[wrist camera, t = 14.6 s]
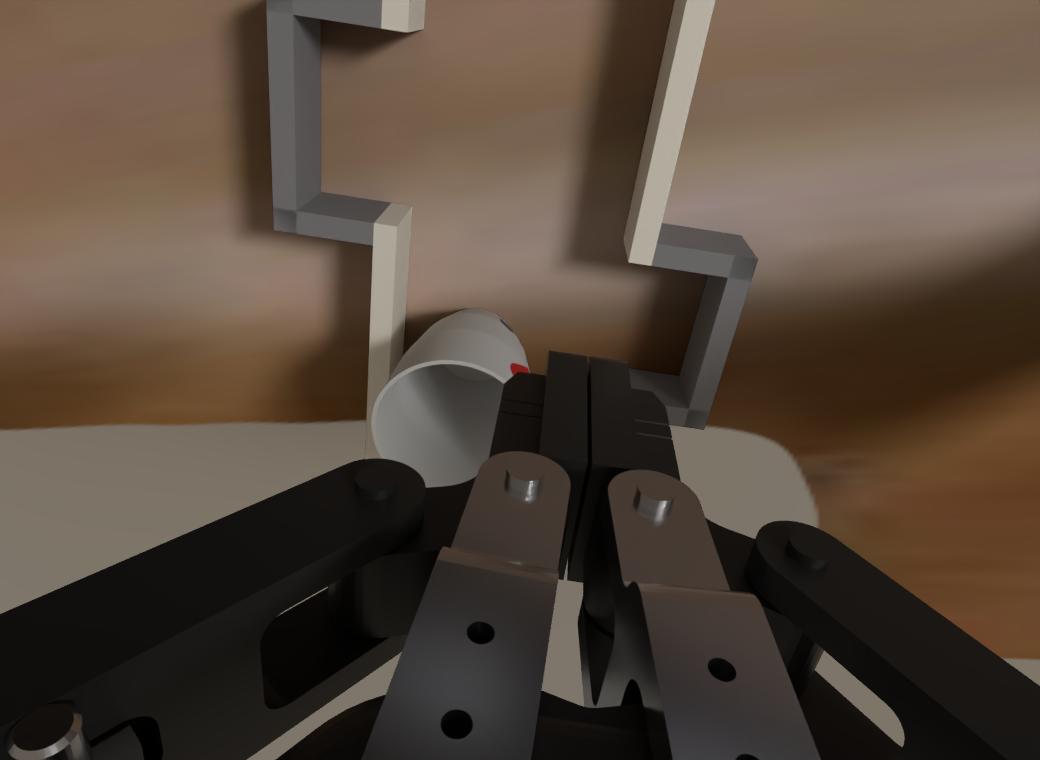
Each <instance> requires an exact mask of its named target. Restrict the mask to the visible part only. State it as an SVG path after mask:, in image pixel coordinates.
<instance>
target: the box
mask: <svg viewBox="0 0 1040 760" xmlns="http://www.w3.org/2000/svg"><path fill="white" fill-rule="evenodd" d="M425 4H426V0H266V10H267V40H268V70H269V100H270V130H271V160H272V190H273V220H274V230H275V231H282V232H288V233H295V234H301V235H308V236H314V237H321V238H327V239H334V240H340V241H347V242H353V243H360V244H366V245H373V260H372V286H371V313H370V340H369V366H368V393H367V420H366V448H365V450H366V451H365V459H371V458H381V456H380V455H379V453H378V451H377V448H376V446H375V443H374V440H373V436H372V428H371V419H372V412H373V408H374V405H375V402H376V400H377V398H378V396H379V394H380V393H381V391H382V389H383V388H384V386H385V384H386V383H387V381H388V380H389V378H390V376H391V375H392V373H393V372H394V370H395V368H396V367H397V365H398V364H399V362H400V360H401V359H402V357H403V348H404V332H405V316H406V301H407V285H408V270H409V254H410V238H411V223H412V207H413V206H408V205H401V204H395V203H388V202H382V201H375V200H369V199H362V198H356V197H349V196H343V195H336V194H330V193H323V192H321V19H324V20H330V21H337V22H343V23H349V24H356V25H362V26H368V27H375V28H381V29H387V30H394V31H400V32H407V33H408V32H413V31H417V30H422V29H424V19H425ZM714 4H715V0H675V2H674V6H673V11H672V15H671V20H670V25H669V29H668V34H667V39H666V43H665V48H664V53H663V57H662V62H661V66H660V71H659V76H658V80H657V85H656V90H655V94H654V99H653V104H652V108H651V113H650V117H649V122H648V127H647V131H646V136H645V141H644V145H643V150H642V154H641V159H640V164H639V168H638V173H637V178H636V182H635V187H634V192H633V196H632V201H631V205H630V210H629V215H628V219H627V224H626V229H625V233H624V238H623V240H624V245H625V249H626V254H627V258H628V262H629V263H636V264H642V265H649V266H655V267H662V268H668V269H675V270H681V271H688V272H694V273H701V274H707V275H708V277H707V280H706V284H705V287H704V291H703V294H702V298H701V301H700V305H699V308H698V312H697V315H696V319H695V322H694V326H693V329H692V333H691V336H690V340H689V344H688V347H687V351H686V354H685V358H684V361H683V365H682V368H681V372H680V375H679V376H676V375H670V374H663V373H657V372H650V371H644V370H637V369H630V368H629V374H630V382H631V388H633V389H640V390H646V391H652V392H653V393H654V394H655V395H656V396H657V398H658V399H659V400H660V401H661V402H662V403H663V404H664V406H665V407H666V410H667V415H668V420H669V425H675V426H682V427H689V428H695V429H702V430H704V428H705V425H706V422H707V419H708V416H709V412H710V409H711V406H712V403H713V400H714V397H715V394H716V390H717V387H718V384H719V381H720V378H721V375H722V371H723V368H724V365H725V362H726V359H727V356H728V352H729V349H730V346H731V343H732V340H733V337H734V334H735V330H736V327H737V324H738V321H739V318H740V315H741V311H742V308H743V305H744V302H745V299H746V296H747V292H748V289H749V286H750V283H751V280H752V277H753V274H754V270H755V267H756V264H757V261H758V258H757V257H756V256H755V254H754V253H753V251H752V250H751V249H750V247H749V246H748V244H747V243H746V242H745V240H744V239H743V237H742V236H740V235H734V234H727V233H721V232H714V231H708V230H701V229H695V228H689V227H682V226H676V225H669V224H663V223H662V220H663V216H664V211H665V207H666V203H667V199H668V195H669V191H670V186H671V182H672V178H673V174H674V170H675V166H676V162H677V157H678V153H679V149H680V145H681V141H682V137H683V132H684V128H685V124H686V120H687V116H688V112H689V107H690V103H691V99H692V95H693V91H694V87H695V83H696V78H697V74H698V70H699V66H700V62H701V58H702V53H703V49H704V45H705V41H706V37H707V33H708V29H709V24H710V20H711V16H712V12H713V8H714ZM381 459H382V458H381Z"/></svg>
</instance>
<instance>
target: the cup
mask: <svg viewBox="0 0 1040 760" xmlns="http://www.w3.org/2000/svg"><path fill="white" fill-rule="evenodd" d="M517 372H524V373H530V371H529V367H528V363H527V359H526V355H525V352H524V349H523V347H522V345H521V343H520V341H519V339H518V338H517V337H516V335H515V334H514V332H513V331H512V329H511V328H510V326H509V325H508V324H507V323H506V322H505V321H504V320H503V319H502V318H501V317H499V316H498V315H496V314H494V313H492V312H490V311H487V310H483V309H464V310H461V311H458V312H456V313H454V314H451V315H449V316H447V317H445V318H443V319H441V320H439V321H438V322H436V323H435V324H433V325H432V326H431V327H430V328H429V329H428V330H427V331H426V332H425V333H424V334H423V335H422V336H421V337H420V338H419V339H418V340H417V341H416V342H415V343H414V344H413V345H412V346H411V347H410V348H409V349H408V350H407V352H406V353H405V354H404V356H403V357H402V359H401V360H400V362H399V364H398V365H397V367H396V368H395V370H394V372H393V373H392V375H391V376H390V378H389V380H388V381H387V383H386V384H385V386H384V388H383V389H382V391H381V393H380V394H379V396H378V398H377V400H376V402H375V405H374V408H373V412H372V419H371V428H372V436H373V440H374V443H375V446H376V448H377V451H378V453H379V455H380V456H381V458H382V459H390V460H395V461H398V462H401V463H404V464H406V465H408V466H410V467H412V468H413V469H415V470H416V471H417V472H418V473H419V474H420V475H421V476H422V478H423V480H424V482H425V486H426V488H428V487H442V486H451V485H456V484H460V483H463V482H466V481H468V480H470V479H472V478H474V477H476V476H477V473H478V471H479V468H480V467H481V465H482V464H483V463H484V461H486V460H487V459H488V458H489V454H490V449H491V444H492V439H493V435H494V430H495V425H496V420H497V416H498V411H499V406H500V402H501V397H502V392H503V387H504V383H505V382H506V381H508V380H509V379H510V378H511V377H512V376H513V375H515V374H516V373H517Z"/></svg>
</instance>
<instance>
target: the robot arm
mask: <svg viewBox="0 0 1040 760" xmlns="http://www.w3.org/2000/svg"><path fill="white" fill-rule="evenodd" d="M671 438H672V435H671V430H670V427H669V420H668V415H667V410H666V407H665V406H664V404H663V403H662V402H661V401H660V400H659V399H658V398H657V396H656V395H655V394H654V393H653V392H652V391H646V390H640V389H633V388H631V382H630V374H629V366H628V362H623V361H617V360H610V359H603V358H596V357H589V359H588V363H587V356H582V355H575V354H569V353H562V352H555V351H549V354H548V359H547V365H546V372H545V375H538V374H531V373H524V372H517V373H516V374H515V375H513V376H512V377H511V378H510V379H509V380H508V381H506V382H505V383H504V387H503V392H502V397H501V402H500V406H499V411H498V416H497V420H496V425H495V430H494V435H493V439H492V444H491V449H490V454H489V458H488V459H487V460H486V461H484V463H483V464H482V465H481V467H480V468H479V471H478V473H477V476H476V477H474V478H472V479H470V480H468V481H466V482H463V483H460V484H456V485H451V486H442V487H428V488H426V486H425V482H424V480H423V478H422V476H421V475H420V474H419V473H418V472H417V471H416V470H415V469H413V468H412V467H410V466H408V465H406V464H404V463H401V462H398V461H395V460H390V459H381V458H371V459H363V460H358V461H354V462H351V463H348V464H346V465H343V466H341V467H339V468H336V469H334V470H332V471H329V472H327V473H325V474H323V475H320V476H318V477H316V478H313V479H311V480H309V481H307V482H304V483H302V484H300V485H297V486H295V487H293V488H290V489H288V490H286V491H284V492H281V493H279V494H276V495H274V496H272V497H269V498H267V499H265V500H263V501H260V502H258V503H256V504H253V505H251V506H249V507H246V508H244V509H242V510H240V511H237V512H235V513H233V514H230V515H228V516H226V517H224V518H221V519H219V520H217V521H214V522H212V523H209V524H207V525H205V526H203V527H200V528H198V529H196V530H193V531H191V532H189V533H187V534H184V535H182V536H180V537H177V538H175V539H173V540H170V541H168V542H166V543H163V544H161V545H159V546H157V547H154V548H152V549H150V550H147V551H145V552H143V553H140V554H138V555H136V556H133V557H131V558H129V559H126V560H124V561H122V562H119V563H117V564H115V565H113V566H110V567H108V568H106V569H103V570H101V571H99V572H96V573H94V574H92V575H89V576H87V577H85V578H83V579H80V580H78V581H76V582H73V583H71V584H69V585H67V586H64V587H62V588H60V589H57V590H55V591H53V592H50V593H48V594H46V595H43V596H41V597H39V598H36V599H34V600H32V601H29V602H27V603H25V604H23V605H20V606H18V607H16V608H13V609H11V610H9V611H6V612H4V613H2V614H0V760H247V759H248V758H249V757H251V756H252V755H254V754H255V753H257V752H258V751H260V750H261V749H262V748H264V747H265V746H267V745H268V744H270V743H271V742H272V741H274V740H275V739H277V738H278V737H280V736H281V735H283V734H284V733H285V732H287V731H288V730H290V729H291V728H293V727H294V726H295V725H297V724H298V723H300V722H301V721H303V720H304V719H305V718H307V717H308V716H310V715H311V714H313V713H314V712H316V711H317V710H319V709H320V708H322V707H323V706H324V705H326V704H327V703H329V702H330V701H331V700H333V699H334V698H336V697H337V696H339V695H340V694H342V693H343V692H345V691H346V690H347V689H349V688H350V687H352V686H353V685H354V684H356V683H358V682H359V681H360V680H362V679H363V678H365V677H366V676H368V675H369V674H370V673H372V672H373V671H375V670H376V669H378V668H379V667H380V666H382V665H383V664H385V663H386V662H388V661H389V660H391V659H392V658H393V657H395V656H396V655H398V654H399V653H400V652H402V653H401V656H400V658H399V661H398V664H397V666H396V669H395V671H394V674H393V677H392V679H391V682H390V685H389V687H388V690H387V693H386V695H383V696H380V697H377V698H374V699H371V700H368V701H365V702H363V703H360V704H358V705H356V706H354V707H351V708H349V709H347V710H345V711H343V712H342V713H340V714H338V715H337V716H335V717H333V718H331V719H330V720H328V721H327V722H325V723H324V724H322V725H321V726H320V727H318V728H317V729H315V730H314V731H313V732H311V733H310V734H309V735H307V736H306V737H305V738H304V739H302V740H301V741H300V742H298V743H297V744H296V745H294V746H293V747H292V748H290V749H289V750H288V751H287V752H285V753H284V754H283V755H281V756H280V757H279V758H277V759H276V760H1040V686H1039V685H1038V684H1036V683H1035V682H1033V681H1032V680H1031V679H1029V678H1028V677H1027V676H1025V675H1024V674H1022V673H1021V672H1019V671H1018V670H1017V669H1015V668H1014V667H1013V666H1011V665H1010V664H1009V663H1007V662H1006V661H1004V660H1003V659H1002V658H1000V657H999V656H998V655H996V654H995V653H993V652H992V651H991V650H989V649H988V648H986V647H985V646H984V645H982V644H981V643H980V642H978V641H977V640H975V639H974V638H973V637H971V636H970V635H968V634H967V633H966V632H964V631H963V630H962V629H960V628H959V627H957V626H956V625H955V624H953V623H952V622H951V621H949V620H948V619H946V618H945V617H944V616H942V615H941V614H939V613H938V612H937V611H935V610H934V609H933V608H931V607H930V606H928V605H927V604H926V603H924V602H923V601H921V600H920V599H919V598H917V597H916V596H915V595H913V594H912V593H910V592H909V591H908V590H906V589H905V588H903V587H902V586H901V585H899V584H898V583H897V582H895V581H894V580H892V579H891V578H890V577H888V576H887V575H886V574H884V573H883V572H881V571H880V570H879V569H877V568H876V567H874V566H873V565H872V564H870V563H869V562H868V561H866V560H865V559H863V558H862V557H861V556H859V555H858V554H856V553H855V552H854V551H852V550H851V549H850V548H848V547H847V546H845V545H844V544H843V543H841V542H840V541H839V540H837V539H836V538H834V537H833V536H831V535H830V534H828V533H826V532H824V531H822V530H820V529H818V528H815V527H813V526H810V525H807V524H804V523H799V522H793V521H775V522H771V523H768V524H766V525H764V526H763V527H762V528H761V529H760V530H759V532H758V534H757V536H756V539H753V538H750V537H748V536H745V535H742V534H740V533H737V532H734V531H732V530H729V529H726V528H724V527H722V526H719V525H717V524H715V523H713V522H711V521H710V520H708V519H707V518H705V516H704V513H703V510H702V507H701V504H700V502H699V499H698V498H697V496H696V495H695V493H694V492H693V491H692V490H691V489H690V488H689V487H688V486H686V485H685V484H684V483H682V482H681V481H680V476H679V470H678V465H677V460H676V456H675V450H674V445H673V441H672V440H671ZM567 560H568V575H567V580H569V581H575V582H582V583H583V599H582V603H581V608H580V612H579V616H578V635H579V647H580V659H581V671H582V684H583V695H584V707H583V706H580V705H577V704H575V703H572V702H569V701H567V700H564V699H562V698H559V697H557V696H554V695H552V694H549V693H546V692H544V691H541V690H542V683H543V676H544V670H545V663H546V657H547V650H548V643H549V636H550V630H551V624H552V617H553V610H554V604H555V597H556V590H557V583H558V579H560V580H563V579H564V574H565V569H566V564H567ZM327 586H328V588H327V589H325V590H324V591H322V592H320V593H318V594H316V595H314V596H313V597H311V598H309V599H307V600H306V601H304V602H302V603H300V604H298V605H297V606H295V607H293V608H291V609H290V610H288V611H286V612H284V613H283V614H281V615H279V614H280V613H282V612H283V611H285V610H286V609H288V608H290V607H292V606H293V605H295V604H297V603H299V602H301V601H302V600H304V599H306V598H308V597H310V596H311V595H313V594H315V593H317V592H318V591H320V590H322V589H324V588H326V587H327ZM278 615H279V616H278ZM824 650H825V651H826V652H827V653H828V654H829V655H830V656H832V657H833V658H834V659H835V660H836V661H837V662H838V663H840V664H841V665H842V666H843V667H844V668H845V669H847V670H848V671H849V672H850V673H851V674H852V675H854V676H855V677H856V678H857V679H858V680H859V681H860V682H862V683H863V684H864V685H865V686H866V687H867V688H869V689H870V690H871V691H872V692H873V693H875V694H876V695H877V696H878V697H879V698H880V699H881V700H882V701H884V702H885V703H886V704H887V705H888V706H889V707H890V708H891V709H892V710H893V711H894V713H895V714H896V716H897V717H898V718H899V720H900V722H901V725H902V727H903V730H904V735H905V741H904V746H903V747H901V746H899V745H898V744H897V743H895V742H894V741H893V740H892V739H891V738H890V737H888V736H887V735H886V734H885V733H884V732H883V731H882V730H881V729H880V728H879V727H877V726H876V725H875V724H874V723H873V722H872V721H871V720H870V719H869V718H867V717H866V716H865V715H864V714H863V713H862V712H861V711H860V710H859V709H857V708H856V707H855V706H854V705H853V704H852V703H851V702H850V701H848V700H847V699H846V698H845V697H844V696H843V695H842V694H841V693H840V692H838V691H837V690H836V689H835V688H834V687H833V686H832V685H831V684H829V683H828V682H827V681H826V680H825V679H824V678H823V677H822V676H821V675H820V674H818V673H817V672H816V671H815V668H816V666H817V664H818V662H819V660H820V658H821V655H822V654H823V651H824Z"/></svg>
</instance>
